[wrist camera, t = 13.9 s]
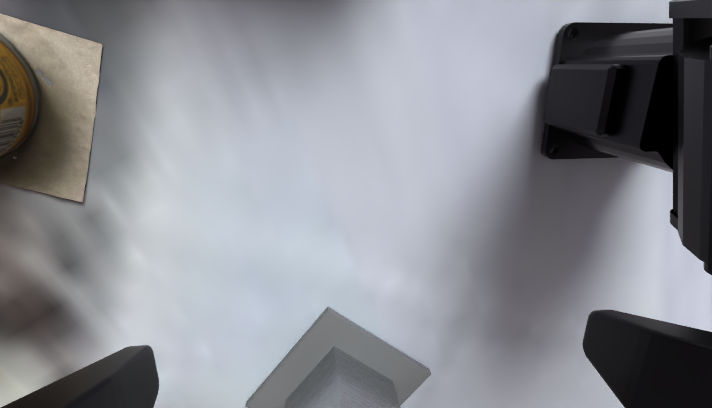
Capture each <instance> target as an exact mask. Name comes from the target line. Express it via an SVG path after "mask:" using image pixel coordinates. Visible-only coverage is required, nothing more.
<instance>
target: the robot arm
mask: <svg viewBox="0 0 712 408" xmlns="http://www.w3.org/2000/svg"><path fill="white" fill-rule="evenodd" d="M669 18H673V24H659V23H578V22H575V23H569V24H566V25H564V26H563V27H562V28H561V29H560V31H559V34H558V40H557V47H556V54H555V60H554V67H553V68H552V70H551V74H550V81H549V87H548V94H547V101H546V107H545V114H544V120H545V126H544V133H543V140H542V146H541V153H542V155H543V156H545V157H547V158H549V159H579V158H613V157H621V158H624V159H628V160H631V161H635V162H638V163H642V164H645V165H649V166H652V167H655V168H659V169H662V170H666V171H669V172H673V209H672V210H671V211H670V223H671V224H672V225H673V226H674V227H675V228H676V229H677V230H678V233H679V236H680V239H681V242H682V244H683V246H685V247H686V248H687V249H688V250H689V251H690V252H692V253H693V254H694V255H695V256H696V257H697V258H698V259H700V260H701V261H703V262H704V270H705V271H706V272H707V273H709V274H711V275H712V0H673V1H670V2H669ZM570 30H572V31H573V36H572V38H571V39H569V37H568V33H569V31H570ZM553 145H554V146H555V149H554V151H553V152H551V153H550V148H551V147H552V146H553ZM583 349H584V352H585V355H586V356H587V358H588V359H589V361H590V362H591V363H592V365H593V366H594V367H595V369H596V370H597V371H598V373H599V374H600V375H601V377H602V378H603V379H604V381H605V382H606V383H607V385H608V386H609V387H610V389H611V390H612V391H613V393H614V394H615V395H616V397H617V398H618V399H619V401H620V402H621V403H622V404H623V406H624V407H625V408H712V332H709V331H704V330H700V329H695V328H691V327H686V326H682V325H677V324H673V323H668V322H664V321H659V320H655V319H650V318H646V317H641V316H637V315H632V314H628V313H623V312H619V311H614V310H597V311H593V312H591V313H590V315H589V317H588V320H587V325H586V330H585V334H584V339H583ZM158 390H159V378H158V373H157V368H156V363H155V358H154V353H153V350H152V348H151V347H150V346H148V345H142V346H130V347H126V348H124V349H122V350H120V351H118V352H116V353H114V354H111V355H109V356H107V357H105V358H103V359H101V360H99V361H97V362H95V363H93V364H91V365H89V366H87V367H84V368H82V369H80V370H78V371H76V372H74V373H72V374H70V375H68V376H66V377H64V378H62V379H59V380H57V381H55V382H53V383H51V384H49V385H47V386H45V387H43V388H41V389H39V390H37V391H34V392H32V393H30V394H28V395H26V396H24V397H22V398H20V399H18V400H16V401H14V402H12V403H9V404H7V405H5V406H3V407H1V408H153V407H154V404H155V401H156V398H157V395H158Z"/></svg>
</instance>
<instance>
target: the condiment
mask: <svg viewBox="0 0 712 408" xmlns="http://www.w3.org/2000/svg"><path fill="white" fill-rule="evenodd" d="M101 52H102V44H100V43H96V42H93V41H90V40H86V39H83V38H79V37H76V36H73V35H70V34H66V33H63V32H60V31H56V30H52V29H49V28H46V27H42V26H39V25H36V24H33V23H29V22H26V21H23V20H19V19H16V18H13V17H10V16H6V15H3V14H0V184H5V185H10V186H15V187H19V188H23V189H29V190H34V191H37V192H42V193H46V194H49V195H53V196H57V197H60V198H66V199H71V200H75V201H80V202H83V196H84V188H85V184H86V180H87V171H88V164H89V154H90V150H91V142H92V134H93V125H94V118H95V113H96V96H97V88H98V83H99V75H100V73H99V70H100V61H101ZM37 68H38V69H40V70H41V71H42V73H43V74H44V76H43V77H42V76H39V75H38V73H37ZM44 77H47V78H49V79H50V80H51V81H52V86H50V85H49V84H47V83H46V81H45V80H44ZM13 156H16V157H17V159H13Z"/></svg>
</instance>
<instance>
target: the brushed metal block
mask: <svg viewBox="0 0 712 408" xmlns="http://www.w3.org/2000/svg"><path fill="white" fill-rule="evenodd" d="M286 408H400V404H399V401H398V397H397V394H396V390H395V387H394V383H393V381H392V380H391V379H389V378H387V377H385V376H384V375H382V374H380V373H379V372H377V371H375V370H374V369H372V368H370V367H369V366H367V365H365V364H364V363H362V362H360V361H358V360H357V359H355V358H353V357H352V356H350V355H348V354H347V353H345V352H343V351H342V350H340V349H338V348H336V347H335V346H334V347H333V348H332V349H331V350H330V351H329V352H328V353H327V354H326V356H325V357H324V358H323V359H322V360H321V361H320V362H319V363H318V364H317V366H316V367H315V368H314V369H313V370H312V371H311V372H310V373H309V375H308V376H307V377H306V378H305V379H304V380H303V381H302V382H301V383H300V385H299V386H298V387H297V388H296V389H295V390H294V391H293V392H292V394H291V395H290V396H289V397H288V398H287V399H286Z"/></svg>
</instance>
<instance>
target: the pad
mask: <svg viewBox="0 0 712 408" xmlns="http://www.w3.org/2000/svg"><path fill="white" fill-rule="evenodd" d="M334 346H335V347H336V348H338V349H340V350H342V351H343V352H345V353H347V354H348V355H350V356H352V357H353V358H355V359H357V360H358V361H360V362H362V363H364V364H365V365H367V366H369V367H370V368H372V369H374V370H375V371H377V372H379V373H380V374H382V375H384V376H385V377H387V378H389V379H391V380H392V381H393V383H394V387H395V390H396V394H397V397H398V401H399V404H400V406H401V405H402V404H403V403H404V402H405V400H406V399H407V398H408V397H409V396H410V395H411V394H412V393H413V392H414V391H415V390H416V389H417V388H418V387H419V386H420V385H421V384H422V383H423V382H424V381H425V380H426V379H427V378H428V377H429V376H430V375H431V372H430V370H429V369H428V368H426V367H425V366H423V365H422V364H420V363H418V362H417V361H415V360H413V359H412V358H410V357H409V356H407V355H405V354H404V353H402V352H400V351H399V350H397V349H396V348H394V347H392V346H391V345H389V344H387V343H386V342H384V341H383V340H381V339H379V338H378V337H376V336H374V335H373V334H371V333H370V332H368V331H366V330H365V329H363V328H361V327H360V326H358V325H357V324H355V323H353V322H352V321H350V320H348V319H347V318H345V317H344V316H342V315H340V314H339V313H337V312H335V311H334V310H332V309H331V308H329V307H327V309H326V310H325V311H324V312H323V313H322V314H321V316H320V317H319V318H318V319H317V320H316V321H315V323H314V324H313V325H312V326H311V327H310V328H309V330H308V331H307V332H306V333H305V334H304V335H303V337H302V338H301V339H300V340H299V341H298V342H297V344H296V345H295V346H294V347H293V348H292V349H291V351H290V352H289V353H288V354H287V355H286V356H285V358H284V359H283V360H282V361H281V362H280V363H279V365H278V366H277V367H276V368H275V369H274V370H273V372H272V373H271V374H270V375H269V376H268V377H267V379H266V380H265V381H264V382H263V383H262V384H261V386H260V387H259V388H258V389H257V390H256V391H255V393H254V394H253V395H252V396H251V397H250V398H249V400H248V401H247V404H246V407H247V408H286V399H287V398H288V397H289V396H290V395H291V394H292V392H293V391H294V390H295V389H296V388H297V387H298V386H299V385H300V383H301V382H302V381H303V380H304V379H305V378H306V377H307V376H308V375H309V373H310V372H311V371H312V370H313V369H314V368H315V367H316V366H317V364H318V363H319V362H320V361H321V360H322V359H323V358H324V357H325V356H326V354H327V353H328V352H329V351H330V350H331V349H332V348H333V347H334Z"/></svg>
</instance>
